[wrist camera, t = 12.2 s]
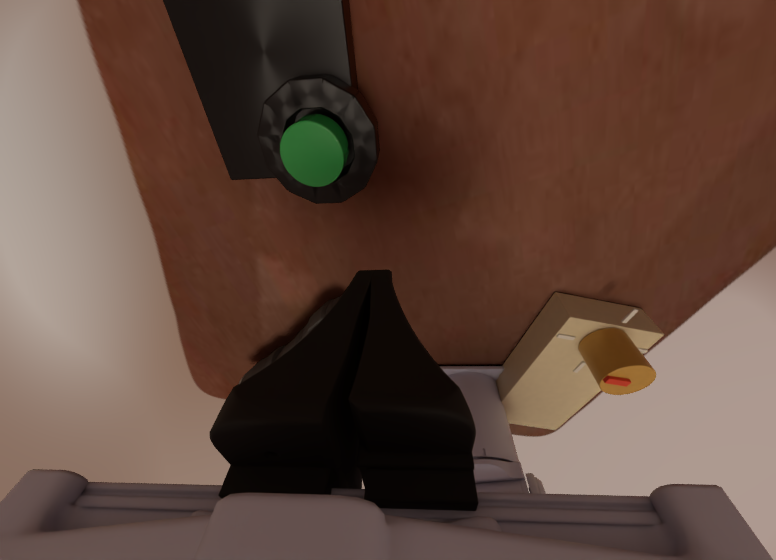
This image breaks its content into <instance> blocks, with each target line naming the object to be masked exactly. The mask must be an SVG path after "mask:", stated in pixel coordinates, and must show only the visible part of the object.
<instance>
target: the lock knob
mask: <svg viewBox="0 0 776 560" xmlns="http://www.w3.org/2000/svg"><path fill="white" fill-rule="evenodd" d="M578 348H579V352H580V354H581V355H582V357H583V359H584V361H585V363H586V364H587V366H588V368H589V370H590V371H591V373H592V375H593V377H594V378H595V380H596V382H597V384H598V385H599V387H600V389H601V390H602V391H603V392H605V393H608V394H613V395H623V394H629V393H633V392H636V391H639V390H641V389H643V388H645V387H647V386H649V385H650V384H651V383H652V382H653V381H654V380H655V378H656V372H655V370H654V369H653V368H652V366H651V365H650V364H649V362H648V361H647V360H646V359H645V357H644V356H643V354H642V353H641V352H640V351H639V349H638V348H637V347H636V345H635V344H634V343H633V341H632V340H631V339H630V337H629V336H628V335H627V334H626V332H624V331H623V330H620V329H617V328H606V329H601V330H597V331H595V332H592V333H590V334H589V335H587V336H586V337H585V338H583V339H582V341H581V342H580V344H579V347H578Z"/></svg>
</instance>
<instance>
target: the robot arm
mask: <svg viewBox="0 0 776 560" xmlns="http://www.w3.org/2000/svg"><path fill="white" fill-rule="evenodd" d="M503 370H504V366H439V365H438V364H437V363H436V362H435V361H434V359H433V358H432V357H431V355H430V354H429V353H428V351H427V350H426V349H425V348H424V346H423V345H422V343H421V342H420V340H419V339H418V337H417V336H416V334H415V333H414V331H413V329H412V328H411V326H410V324H409V323H408V321H407V319H406V317H405V315H404V313H403V311H402V308H401V306H400V304H399V301H398V299H397V296H396V293H395V290H394V287H393V283H392V272H391V271H390V270H362V271H358V272H357V273H356V275H355V277H354V278H353V280H352V281H351V283H350V284H349V286H348V287H347V289H346V290H345V292H344V293H343V294H342V296H341V297H340V298H339V300H338V301H337V302H336V304H335V305H334V306H333V307H332V309H331V310H330V311H329V312H328V313H327V315H326V316H325V317H324V318H323V319H322V320H321V321H320V322H319V324H318V325H317V326H316V327H315V328H314V329H313V330H312V331H311V332H310V333H309V334H308V335H306V336H305V337H304V338H303V339H302V340H301V341H300V342H299V343H297V344H296V345H295V346H294V347H293V348H291V349H290V350H289V351H288V352H287V353H285V354H284V355H283V356H281V357H280V358H279V359H277V360H276V361H274V362H273V363H271V364H270V365H269V366H267V367H266V368H264V369H263V370H261V371H260V372H258V373H256V374H255V375H253V376H251V377H250V378H248V379H246V380H245V381H243V382H242V383H240V384H238V385H236V386H235V387H233V389H232V391H231V392H230V394H229V396H228V397H227V399H226V401H225V403H224V405H223V407H222V409H221V410H220V413H219V415H218V417H217V419H216V421H215V423H214V425H213V427H212V429H211V431H210V439H211V442H212V443H213V445H214V446H215V448H216V449H217V450H218V451H219V452H220V453H221V454H222V455H223V457H224V458H225V459H226V460H227V461H228V462H229V463H230V465H231V466H230V468H229V471H228V473H227V475H226V478H225V480H224V483H223V485H222V486H221V485H185V484H147V483H107V482H105V483H104V482H88V480H87V479H86V478H84V477H83V476H81V475H79V474H77V473H75V472H71V471H66V470H40V469H33V470H30V471H28V472H27V473H26V474H25V475H24V476H23V478H22V479H21V480H20V481H19V482H18V483H17V484H16V485H15V486H14V488H13V489H12V490H11V491H10V492H9V493H8V494H7V496H6V497H5V498H4V499H3V500H2V501H1V502H0V560H773V559H772V558H771V556H770V555H769V553H768V552H767V551H766V549H765V548H764V546H763V545H762V544H761V542H760V541H759V539H758V538H757V537H756V536H755V534H754V532H753V531H752V530H751V528H750V527H749V525H748V524H747V523H746V521H745V520H744V518H743V517H742V516H741V514H740V513H739V511H738V510H737V509H736V507H735V506H734V504H733V503H732V502H731V500H730V499H729V498H728V496H727V495H726V493H725V492H724V491H723V489H722V488H721V487H719V486H717V485H692V484H670V485H664V486H660V487H659V488H656V489H655V490H654V491H653V492H652V493H651V494H650V496H649V497H647V496H609V495H607V496H606V495H570V494H569V495H568V494H566V495H565V494H545V491H544V488H543V485H542V482H541V481H540V480H539V479H537V478H536V477H534V475H533V474H531V473H528V474H526V477H527V481H528V484H529V491H530V493H529V492H528V488H527V485H526V481H525V478H524V474H523V471H522V467H521V463H520V462H519V460H518V456H517V452H516V449H515V445H514V442H513V438H512V434H511V431H510V427H509V423H508V420H507V416H506V412H505V409H504V405H503V404H502V402H501V399H500V395H499V391H498V388H497V384H496V380H497V379H498V377H499V375H500V374H501V373H502V372H503ZM362 480H363V483H364V486H365V489H361V488H362Z"/></svg>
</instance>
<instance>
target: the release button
mask: <svg viewBox="0 0 776 560" xmlns="http://www.w3.org/2000/svg"><path fill="white" fill-rule="evenodd" d="M348 153H349V146H348V141H347V137H346V135H345V133H344V131H343V130H342V128H341V127H340V126H339V125H338V124H337V123H336V122H335V121H334V120H333V119H331V118H329V117H327V116H325V115H322V114H309V115H306V116H303V117H302V118H300V119H299V120H297V121H296V122H295V123H293V124H292V125H291V126H289V127H288V128H287V129H286V131H285V132H284V134H283V136H282V138H281V142H280V155H281V159H282V162H283V164H284V166H285V168H286V169H287V171H288V172H289V173H290V174H291V176H292V177H294V178H295V179H296V180H297V181H299V182H301V183H303V184H305V185H308V186H312V187H322V186H326V185H328V184H330V183H332V182H333V181H335V180H336V179H337V178H338V176H339V175H340V173H341V171H342V169H343V167H344V165H345V163H346V161H347V158H348Z"/></svg>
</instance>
